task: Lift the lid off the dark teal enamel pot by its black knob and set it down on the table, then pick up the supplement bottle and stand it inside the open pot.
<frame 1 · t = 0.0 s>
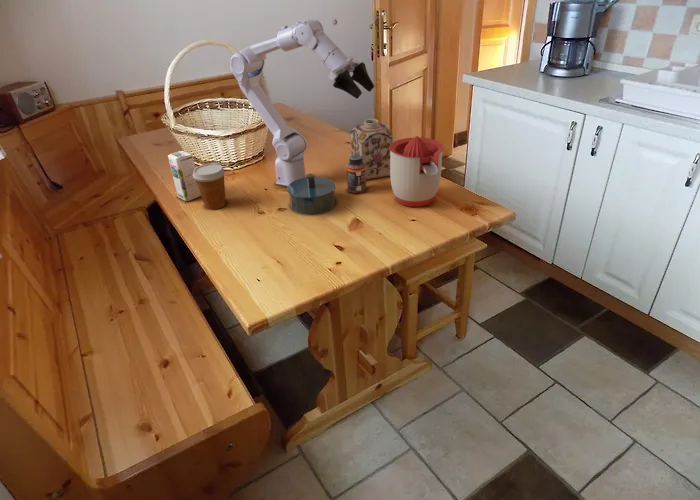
hand: (365, 92, 131), 32 cm above the table, tool tilted 50°, fingers open, 7 cm apart
pot lid: (311, 187, 143), point 5 cm above the table, touching pot
syrup box: (190, 197, 154), on the table
disposable coffee cup: (215, 205, 149), on the table
citrus juicer: (415, 200, 145), on the table
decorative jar: (372, 172, 165), on the table
supplement bottle: (356, 190, 153), on the table
pot: (312, 203, 146), on the table
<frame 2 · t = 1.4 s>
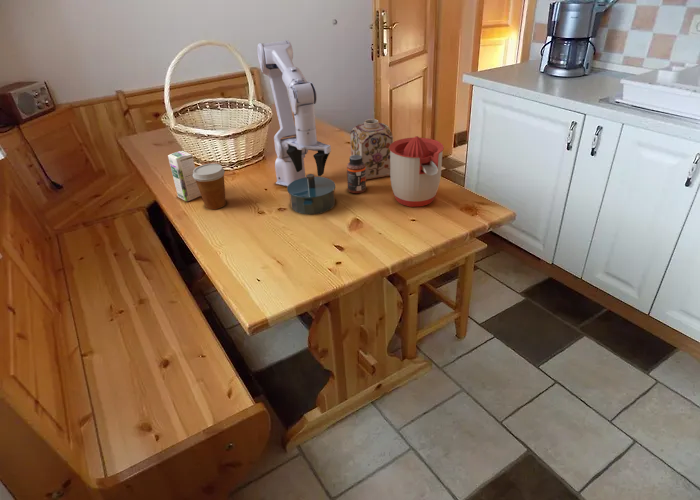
hand: (310, 172, 140), 10 cm above the table, tool pointing down, fingers open, 7 cm apart
nothing on the table moved.
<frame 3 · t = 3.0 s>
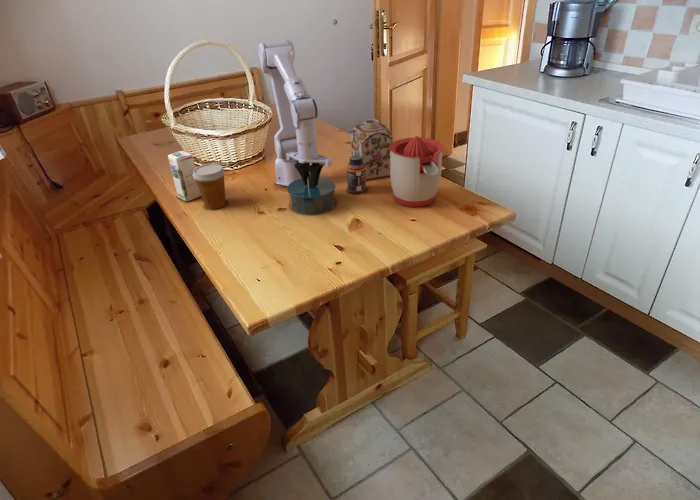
hand: (311, 184, 143), 6 cm above the table, tool pointing down, fingers closed on pot lid, 2 cm apart
pot lid: (311, 187, 143), point 5 cm above the table, touching gripper, pot
everything else where it was.
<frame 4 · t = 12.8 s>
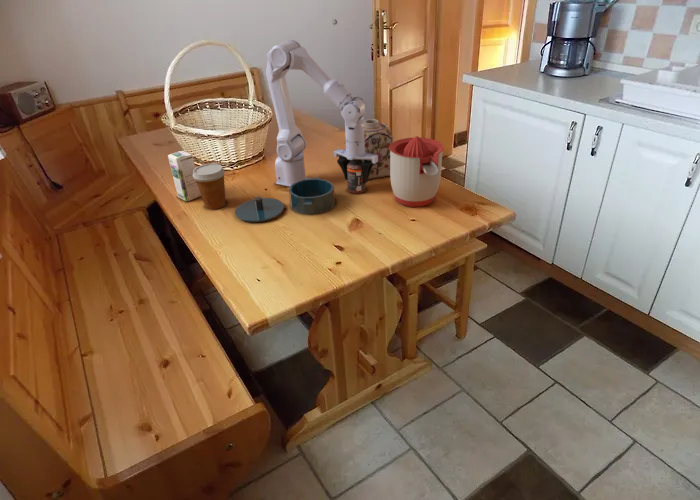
hand: (356, 180, 151), 3 cm above the table, tool pointing down, fingers closed on supplement bottle, 6 cm apart
pot lid: (259, 210, 143), point 1 cm above the table
supplement bottle: (357, 190, 153), on the table, touching gripper
everything else where it was.
when the fingers open (4 cm above the table, at t = 18.4 s): supplement bottle stays where it is, resting on pot.
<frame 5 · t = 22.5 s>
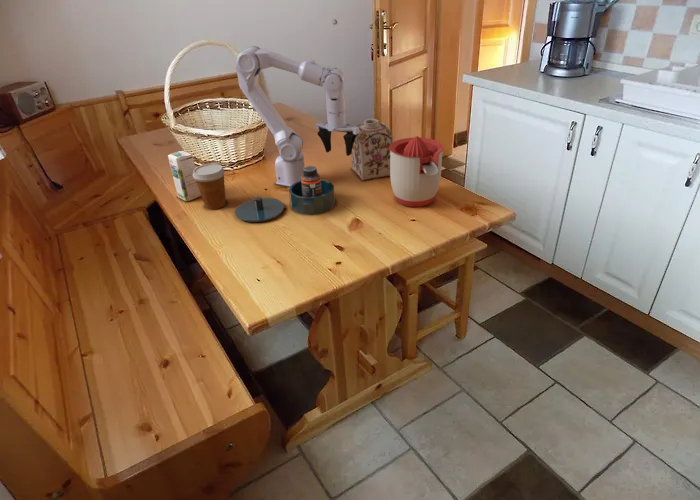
hand: (338, 153, 153), 10 cm above the table, tool pointing down, fingers open, 7 cm apart
supplement bottle: (313, 203, 146), resting on pot
everything else where it was.
at the end: pot lid inside the target area (0.1 cm from its centre), point 0.6 cm above the table; supplement bottle 0.0 cm off-centre in the pot, point 0.2 cm above the pot's base; supplement bottle tilted 0° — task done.
